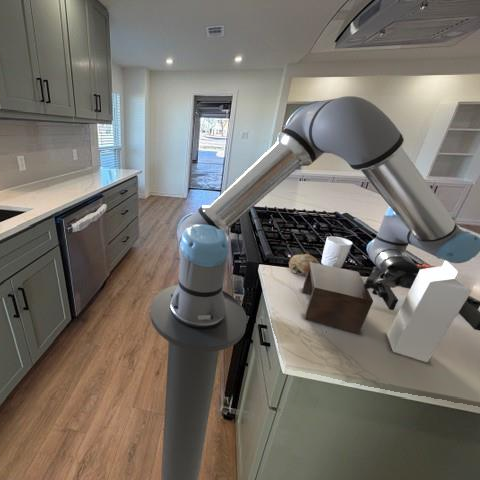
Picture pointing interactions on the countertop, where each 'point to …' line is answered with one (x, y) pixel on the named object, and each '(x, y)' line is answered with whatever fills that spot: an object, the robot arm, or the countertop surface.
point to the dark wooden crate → (336, 297)
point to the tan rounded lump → (301, 263)
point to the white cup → (335, 251)
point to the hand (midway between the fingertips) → (435, 314)
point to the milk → (427, 312)
